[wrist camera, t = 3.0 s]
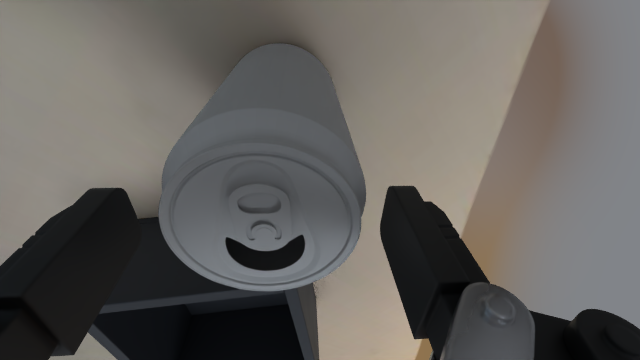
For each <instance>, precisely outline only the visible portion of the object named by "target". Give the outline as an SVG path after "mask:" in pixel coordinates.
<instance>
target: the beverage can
mask: <svg viewBox="0 0 640 360" xmlns="http://www.w3.org/2000/svg"><path fill="white" fill-rule="evenodd" d="M365 202H366V186H365V180H364V176H363V172H362V169H361V166H360V163H359V160H358V157H357V154H356V151H355V148H354V145H353V142H352V139H351V136H350V133H349V130H348V127H347V124H346V121H345V118H344V115H343V112H342V109H341V106H340V103H339V100H338V97H337V94H336V91H335V88H334V85H333V82H332V79H331V77H330V75H329V73H328V71H327V70H326V68H325V67H324V65H323V64H322V63H321V62H320V61H319V60H318V59H317V58H316V57H315V56H313V55H312V54H311V53H309V52H308V51H306V50H304V49H302V48H300V47H297V46H294V45H290V44H283V43H275V44H267V45H264V46H260V47H258V48H256V49H254V50H252V51H251V52H249V53H248V54H246V55H245V56H244V57H243V58H242V59H241V60H240V61H239V62H238V64H237V65H236V66H235V67H234V69H233V70H232V71H231V73H230V74H229V75H228V77H227V78H226V79H225V80H224V82H223V83H222V84H221V86H220V87H219V88H218V90H217V91H216V92H215V93H214V95H213V96H212V97H211V99H210V100H209V101H208V102H207V104H206V105H205V106H204V108H203V109H202V110H201V112H200V113H199V114H198V115H197V117H196V118H195V119H194V121H193V122H192V123H191V125H190V126H189V127H188V128H187V130H186V131H185V132H184V134H183V135H182V136H181V138H180V139H179V140H178V141H177V143H176V144H175V145H174V147H173V148H172V150H171V152H170V154H169V155H168V158H167V160H166V162H165V166H164V169H163V175H162V195H161V198H160V202H159V212H158V215H159V223H160V228H161V231H162V234H163V236H164V238H165V240H166V242H167V244H168V246H169V247H170V248H171V250H172V251H173V252H174V253H175V255H176V256H177V257H178V258H179V259H180V260H181V261H182V262H183V263H185V264H186V265H187V266H188V267H189V268H191V269H192V270H194V271H195V272H197V273H198V274H200V275H202V276H204V277H206V278H208V279H210V280H212V281H215V282H217V283H220V284H224V285H227V286H231V287H234V288H238V289H244V290H252V291H280V290H287V289H293V288H297V287H301V286H304V285H307V284H310V283H313V282H315V281H317V280H319V279H321V278H323V277H325V276H327V275H328V274H330V273H331V272H333V271H334V270H336V269H337V268H338V267H339V266H340V265H341V264H342V263H343V262H344V261H345V260H346V259H347V258H348V257H349V255H350V254H351V253H352V251H353V250H354V248H355V246H356V244H357V241H358V239H359V235H360V231H361V217H362V214H363V211H364V207H365Z"/></svg>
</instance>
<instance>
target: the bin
mask: <svg viewBox="0 0 640 360" xmlns="http://www.w3.org/2000/svg"><path fill="white" fill-rule="evenodd" d="M138 221H139V223H140V225H141V229H142V238H141V242H140V245H139V247H138V249H137V250H136V252H135V254H134V255H133V257H132V259H131V260H130V262H129V264H128V265H127V267H126V269H125V270H124V272H123V274H122V275H121V277H120V279H119V280H118V282H117V284H116V285H115V287H114V289H113V290H112V292H111V294H110V295H109V297H108V299H107V301H106V302H105V304H104V306H103V307H102V309H101V311H100V312H99V314H98V316H97V317H96V319H95V321H94V322H93V324H92V326H91V327H90V329H89V331H88V333H89V334H90V335H91V336H93V337H94V338H95V339H96V340H97V341H98V342H99V343H100V344H101V345H102V346H103V347H104V348H106V349H107V350H108V351H109V352H110V353H111V354H112V355H113V356H114V357H115V358H116V359H118V360H319V347H318V328H317V308H316V297H315V292H314V287H313V283H310V284H307V285H304V286H301V287H297V288H293V289H287V290H280V291H252V290H244V289H238V288H234V287H231V286H227V285H224V284H220V283H217V282H215V281H212V280H210V279H208V278H206V277H204V276H202V275H200V274H198V273H197V272H195V271H194V270H192V269H191V268H189V267H188V266H187V265H186V264H185V263H183V262H182V261H181V260H180V259H179V258H178V257H177V256H176V255H175V253H174V252H173V251H172V250H171V248H170V247H169V246H168V244H167V242H166V240H165V238H164V236H163V234H162V231H161V228H160V223H159V217H155V218H147V219H138Z"/></svg>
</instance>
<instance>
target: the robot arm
mask: <svg viewBox="0 0 640 360" xmlns="http://www.w3.org/2000/svg"><path fill="white" fill-rule="evenodd" d="M35 233H36V234H35V236H31V237H30V238H29V239H28V240H27V241H26V242H25V243H24V244H23V245H22V246H23V247H22V248H19V249H18V250H17V251H15V252H14V253H13V254H12V255H11V256H10V257H9V258H8V259H7V260H6V261H5V262H4V263H3V264H2V265H1V266H0V360H48V359H49V358H50V356H65V355H74V354H75V352H76V351H77V349H78V347H79V346H80V344H81V342H82V341H83V339H84V337H85V336H86V334H87V332H88V331H89V329H90V327H91V326H92V324H93V322H94V321H95V319H96V317H97V316H98V314H99V312H100V311H101V309H102V307H103V306H104V304H105V302H106V301H107V299H108V297H109V295H110V294H111V292H112V290H113V289H114V287H115V285H116V284H117V282H118V280H119V279H120V277H121V275H122V274H123V272H124V270H125V269H126V267H127V265H128V264H129V262H130V260H131V259H132V257H133V255H134V254H135V252H136V250H137V249H138V247H139V245H140V242H141V238H142V229H141V225H140V223H139V221H138V218H137V216H136V213H135V211H134V209H133V206H132V204H131V202H130V199H129V197H128V195H127V193H126V191H125V190H124V189H122V188H92V189H89V190H88V191H87V192H86V193H85V194H84V195H83V196H82V197H81V198H79V199H78V200H77V201H76V202H75V203H74V204H73V205H72V206H70V207H68V208H66V209H65V210H63V211H61V212H60V213H58V214H56V215H55V216H53V217H51V218H50V219H49V220H48V221H47V222H46V223H45V224H44V225H43V226H42V227H41V228H40V229H38V230H37V231H36V232H35ZM380 234H381V240H382V243H383V246H384V249H385V252H386V255H387V258H388V261H389V264H390V267H391V270H392V273H393V276H394V279H395V282H396V285H397V289H398V292H399V295H400V298H401V301H402V304H403V307H404V310H405V313H406V316H407V319H408V322H409V325H410V328H411V331H412V334H413V337H414V339H426V338H429V341H430V344H431V346H432V349H433V351H432V353H431V355H430V359H429V360H640V329H639V328H637V327H636V326H634V325H633V324H631V323H630V322H628V321H627V320H625V319H623V318H621V317H619V316H617V315H614V314H612V313H609V312H606V311H602V310H598V309H587V310H584V311H582V312H580V313H579V314H578V315H577V316H576V317H575V318H574V319H573V320H572V321H568V320H565V319H561V318H557V317H553V316H549V315H545V314H541V313H537V312H533V311H530V310H528V309H527V307H526V306H525V305H524V304H523V303H522V302H521V301H520V300H519V299H518V298H517V297H516V296H514V295H513V294H512V293H510V292H509V291H507V290H505V289H503V288H501V287H499V286H496V285H493V284H490V282H489V281H488V279H487V278H486V276H485V275H484V273H483V271H482V270H481V268H480V267H479V266H478V264H477V262H476V261H475V259H474V258H473V256H472V254H471V253H470V251H469V250H468V248H467V247H466V245H465V244H464V242H463V241H462V239H460V238H459V234H458V233H457V231H456V230H455V228H453V227H452V224H451V222H450V220H449V219H448V217H447V216H446V214H445V213H444V212H443V211H442V210H441V209H440V208H438V207H437V206H436V205H435V204H433V203H432V202H424V201H423V199H422V197H421V196H420V194H419V192H418V191H417V189H416V188H415V187H414V186H390V187H389V188H388V190H387V194H386V199H385V204H384V208H383V213H382V218H381V224H380Z"/></svg>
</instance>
